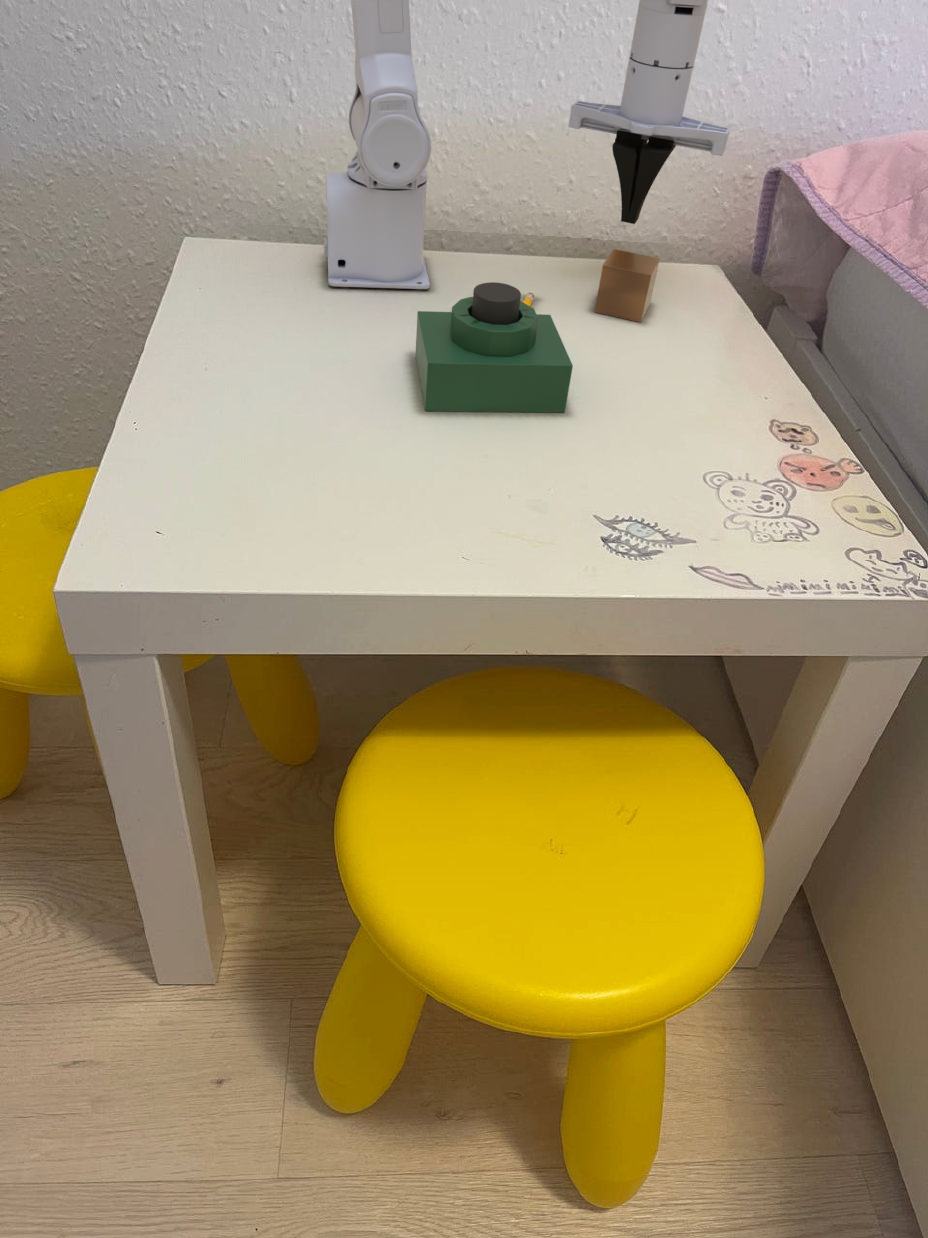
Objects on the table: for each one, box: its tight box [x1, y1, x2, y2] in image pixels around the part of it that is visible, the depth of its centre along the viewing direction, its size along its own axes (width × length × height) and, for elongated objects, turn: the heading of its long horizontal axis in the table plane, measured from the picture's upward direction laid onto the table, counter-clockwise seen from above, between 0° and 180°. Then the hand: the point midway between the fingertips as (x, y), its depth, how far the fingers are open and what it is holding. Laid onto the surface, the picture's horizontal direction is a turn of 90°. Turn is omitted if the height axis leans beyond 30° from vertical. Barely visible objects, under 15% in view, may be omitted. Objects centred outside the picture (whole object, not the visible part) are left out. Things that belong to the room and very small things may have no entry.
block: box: [594, 248, 661, 323], centre depth 86 cm, size 4×4×4 cm
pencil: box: [522, 292, 535, 307], centre depth 85 cm, size 1×9×1 cm, turn 167°
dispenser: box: [414, 296, 573, 414], centre depth 72 cm, size 11×9×6 cm
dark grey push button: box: [472, 281, 522, 325], centre depth 70 cm, size 4×4×2 cm
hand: (629, 219), depth 90 cm, fingers closed
